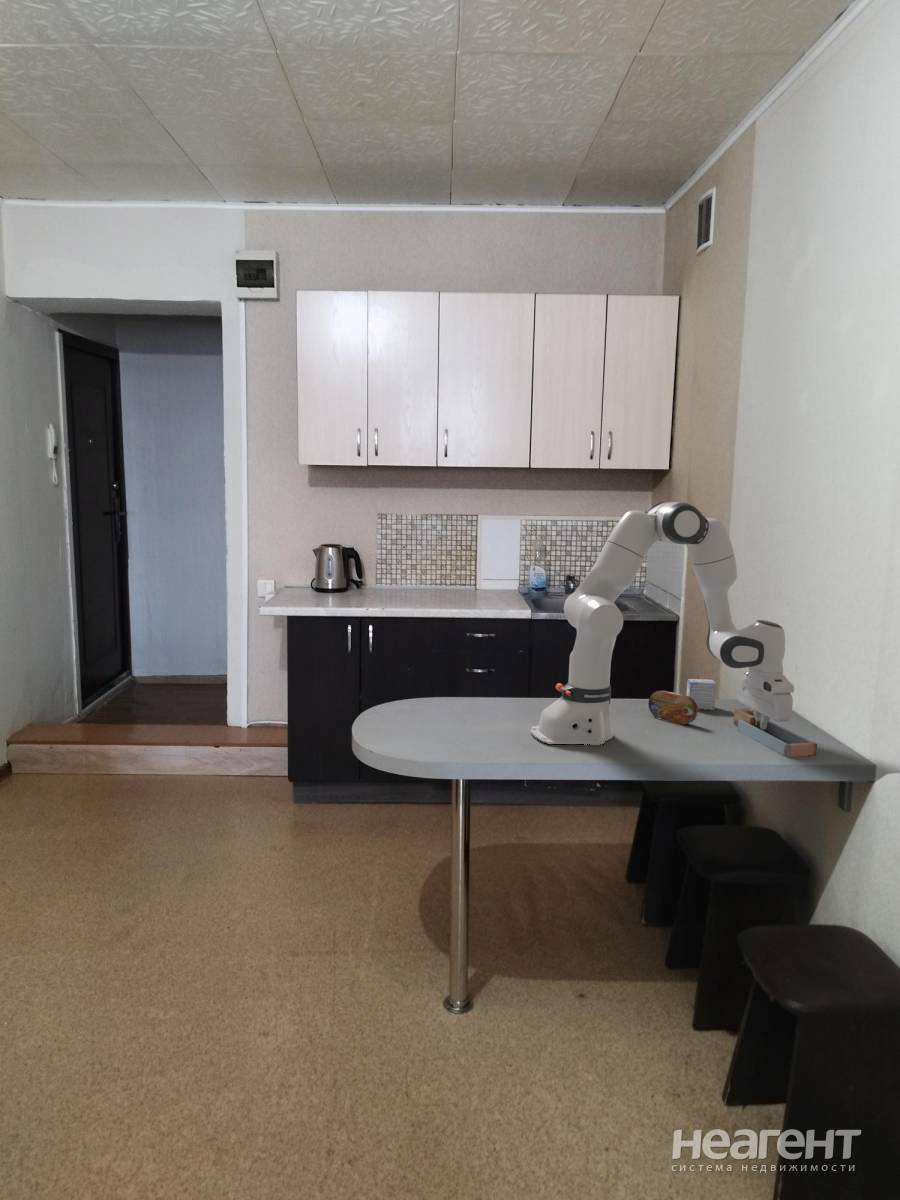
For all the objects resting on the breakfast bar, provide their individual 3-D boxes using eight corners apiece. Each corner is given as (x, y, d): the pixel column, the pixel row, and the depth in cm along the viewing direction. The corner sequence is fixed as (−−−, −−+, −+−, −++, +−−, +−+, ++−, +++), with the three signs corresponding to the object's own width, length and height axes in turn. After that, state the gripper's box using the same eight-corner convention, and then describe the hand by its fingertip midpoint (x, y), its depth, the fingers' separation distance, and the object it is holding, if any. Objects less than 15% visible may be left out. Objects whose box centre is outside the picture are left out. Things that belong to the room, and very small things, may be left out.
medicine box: (711, 706, 252) (713, 679, 251) (714, 710, 248) (716, 683, 246) (685, 705, 253) (687, 678, 252) (688, 709, 249) (689, 682, 247)
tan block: (748, 732, 227) (750, 717, 226) (733, 724, 235) (734, 709, 234) (764, 732, 228) (766, 716, 227) (749, 723, 236) (750, 708, 235)
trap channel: (787, 757, 208) (788, 746, 207) (737, 730, 229) (738, 720, 229) (816, 754, 210) (817, 743, 210) (764, 728, 231) (765, 718, 231)
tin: (647, 715, 241) (648, 688, 240) (652, 713, 244) (654, 686, 242) (692, 728, 231) (694, 699, 229) (698, 725, 233) (700, 697, 232)
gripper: (733, 670, 232) (729, 716, 235) (777, 689, 213) (773, 739, 215) (752, 669, 234) (749, 715, 236) (798, 688, 214) (794, 738, 216)
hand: (761, 727), depth 225 cm, fingers closed
